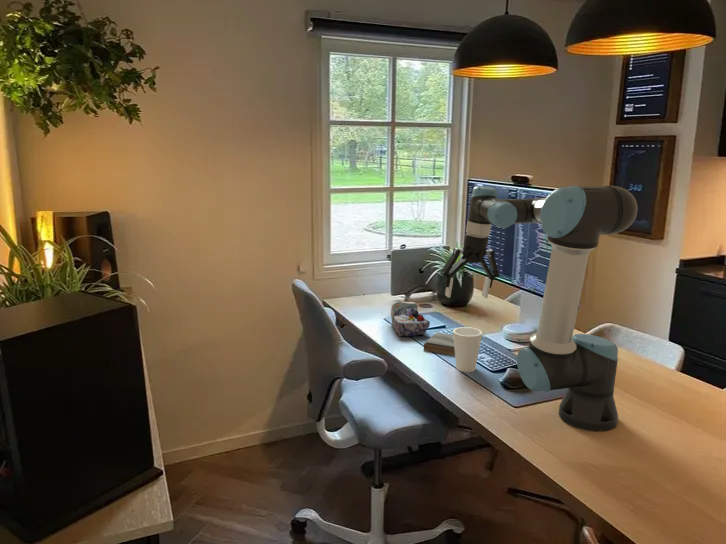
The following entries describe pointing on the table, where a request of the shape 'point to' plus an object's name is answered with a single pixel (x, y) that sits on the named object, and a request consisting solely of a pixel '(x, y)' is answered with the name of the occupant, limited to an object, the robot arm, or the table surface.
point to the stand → (440, 344)
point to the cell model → (408, 319)
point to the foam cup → (466, 347)
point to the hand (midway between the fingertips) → (466, 296)
